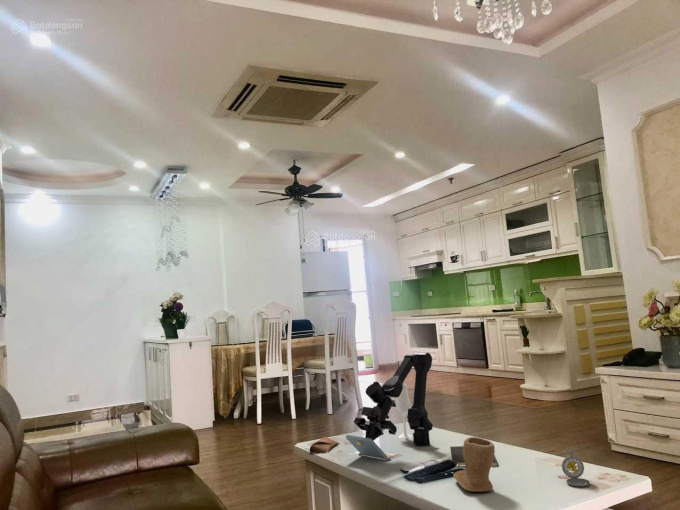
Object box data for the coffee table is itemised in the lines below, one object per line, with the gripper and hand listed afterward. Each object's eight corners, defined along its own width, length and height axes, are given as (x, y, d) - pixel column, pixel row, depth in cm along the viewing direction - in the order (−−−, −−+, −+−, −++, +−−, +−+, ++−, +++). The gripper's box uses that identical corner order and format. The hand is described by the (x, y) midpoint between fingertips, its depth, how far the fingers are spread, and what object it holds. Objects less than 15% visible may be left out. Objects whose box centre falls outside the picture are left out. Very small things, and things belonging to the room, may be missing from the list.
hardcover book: (453, 468, 187) (452, 461, 187) (450, 452, 209) (450, 446, 210) (498, 467, 184) (497, 460, 185) (491, 451, 207) (490, 445, 207)
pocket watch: (580, 489, 155) (576, 454, 156) (557, 482, 162) (553, 449, 164) (598, 484, 159) (594, 450, 160) (574, 477, 166) (571, 445, 168)
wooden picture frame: (375, 452, 214) (374, 448, 214) (404, 458, 202) (404, 453, 203) (358, 457, 207) (358, 453, 207) (388, 463, 196) (388, 458, 196)
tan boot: (503, 493, 155) (498, 442, 157) (464, 496, 155) (459, 444, 157) (489, 478, 170) (484, 432, 172) (453, 481, 170) (449, 434, 172)
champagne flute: (397, 438, 237) (394, 385, 240) (398, 435, 243) (394, 383, 247) (412, 438, 236) (408, 384, 239) (412, 435, 242) (409, 383, 246)
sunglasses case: (328, 453, 217) (320, 439, 219) (315, 461, 218) (307, 447, 220) (340, 443, 234) (332, 430, 236) (328, 451, 235) (320, 438, 237)
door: (363, 452, 207) (346, 434, 202) (387, 456, 198) (371, 438, 193) (360, 457, 206) (344, 439, 201) (385, 461, 197) (368, 443, 192)
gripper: (354, 396, 212) (337, 430, 203) (389, 399, 199) (372, 435, 190) (369, 412, 216) (353, 446, 208) (403, 416, 203) (388, 452, 194)
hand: (366, 444), depth 200 cm, fingers closed
